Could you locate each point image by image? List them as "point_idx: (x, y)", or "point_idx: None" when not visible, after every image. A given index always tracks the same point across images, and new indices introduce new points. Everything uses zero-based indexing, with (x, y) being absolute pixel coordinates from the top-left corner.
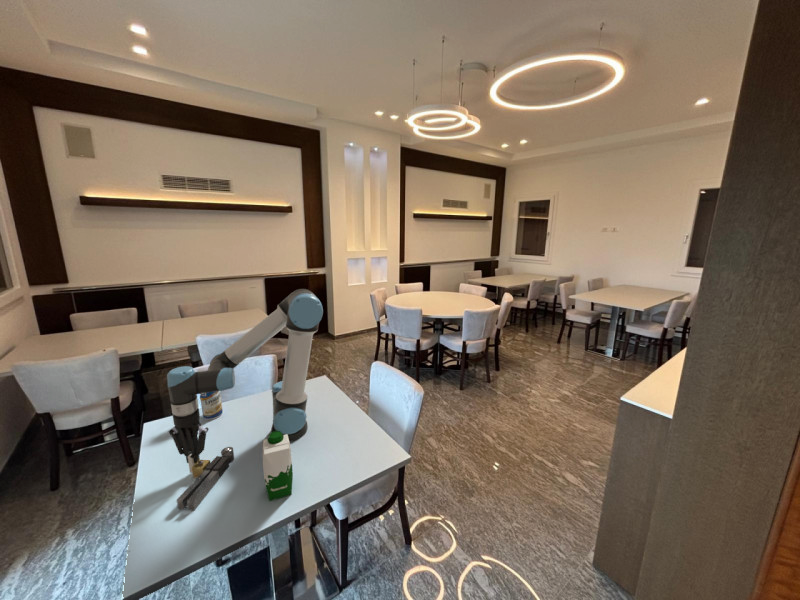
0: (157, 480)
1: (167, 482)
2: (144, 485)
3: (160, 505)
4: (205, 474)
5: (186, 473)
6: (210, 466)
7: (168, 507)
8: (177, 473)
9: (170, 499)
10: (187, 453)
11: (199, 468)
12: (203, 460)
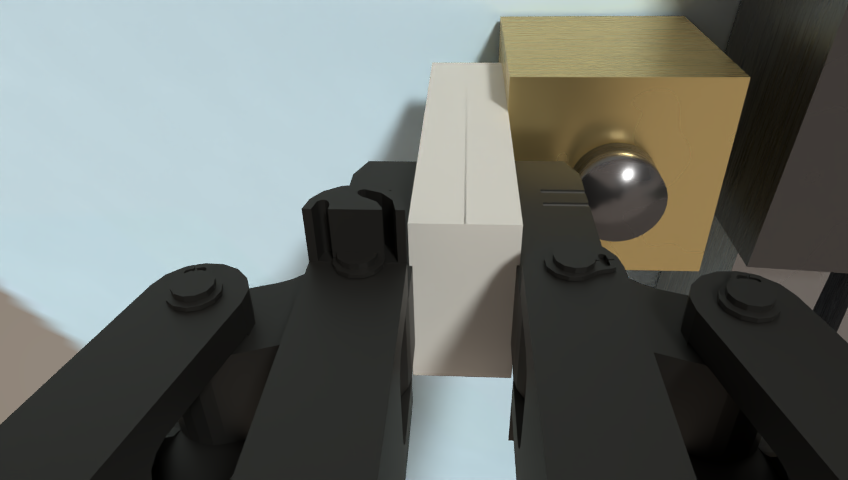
0: (80, 225)
1: (228, 248)
2: (20, 289)
3: (409, 462)
4: None
5: (341, 105)
6: (825, 233)
7: (495, 476)
8: (214, 110)
9: (450, 419)
10: (407, 434)
11: (636, 266)
12: (614, 96)
